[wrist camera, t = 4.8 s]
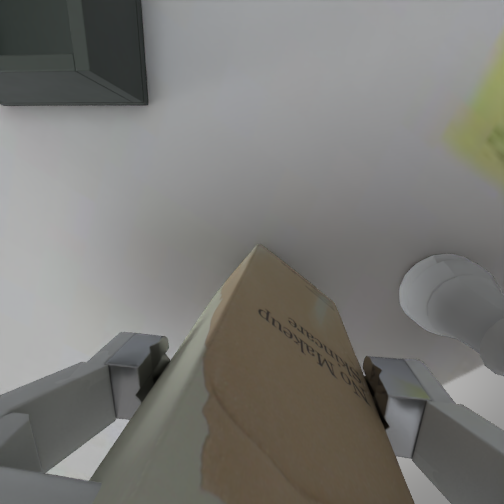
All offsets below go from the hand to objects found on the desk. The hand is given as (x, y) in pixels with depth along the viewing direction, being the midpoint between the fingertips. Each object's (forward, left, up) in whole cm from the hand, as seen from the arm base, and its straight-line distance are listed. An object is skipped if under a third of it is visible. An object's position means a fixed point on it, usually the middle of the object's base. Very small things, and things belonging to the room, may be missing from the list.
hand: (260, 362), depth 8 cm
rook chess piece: (-10, 0, -8) cm, 13 cm away
